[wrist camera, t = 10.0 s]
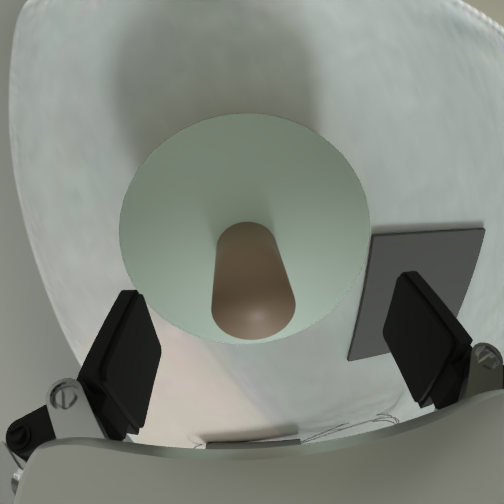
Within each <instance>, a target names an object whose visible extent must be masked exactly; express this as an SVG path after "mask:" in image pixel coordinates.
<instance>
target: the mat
mask: <svg viewBox="0 0 504 504" xmlns="http://www.w3.org/2000/svg"><path fill="white" fill-rule="evenodd" d="M485 230H486V229H484V228H475V229H458V230H441V231H424V232H408V233H393V234H377V235H372V239H371V246H370V253H369V259H368V266H367V272H366V277H365V283H364V288H363V293H362V298H361V303H360V308H359V313H358V317H357V322H356V326H355V330H354V335H353V339H352V343H351V347H350V350H349V354H348V358H347V360H348V362H349V361H354V360H359V359H364V358H368V357H373V356H377V355H381V354H386V353H390V352H391V351H390V349H389V347H388V345H387V343H386V341H385V339H384V337H383V327H384V324H385V320H386V317H387V314H388V310H389V307H390V303H391V299H392V296H393V292H394V288H395V284H396V280H397V278H398V277H399V276H400V275H401V273H402V272H407V271H417V272H418V273H419V274H420V275H421V276H422V278H423V279H424V280H425V281H426V282H427V283H428V284H429V286H430V287H431V288H432V289H433V290H434V291H435V293H436V294H437V295H438V296H439V297H440V299H441V300H442V301H443V302H444V303H445V305H446V306H447V307H448V308H449V310H450V311H451V312H452V313H453V315H454V316H455V317H457V315H458V312H459V310H460V308H461V305H462V303H463V300H464V298H465V295H466V292H467V290H468V287H469V284H470V281H471V278H472V275H473V272H474V269H475V266H476V263H477V260H478V256H479V253H480V249H481V246H482V242H483V238H484V234H485Z"/></svg>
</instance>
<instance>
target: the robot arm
mask: <svg viewBox="0 0 504 504" xmlns="http://www.w3.org/2000/svg"><path fill="white" fill-rule="evenodd" d="M383 337H384V339H385V341H386V343H387V345H388V347H389V349H390V351H391V353H392V355H393V357H394V359H395V361H396V363H397V365H398V367H399V370H400V372H401V374H402V376H403V378H404V380H405V382H406V384H407V386H408V389H409V391H410V393H411V395H412V397H413V399H414V401H415V402H418V404H419V406H420V408H424V407H426V406H429V405H432V404H434V406H435V410H434V412H431V413H429V414H426V415H423V416H420V417H417V418H414V419H412V420H408V421H405V422H402V423H399V424H396V425H392V426H389V427H385V428H382V429H378V430H374V431H370V432H366V433H362V434H358V435H353V436H348V437H344V438H339V439H333V440H328V441H322V442H315V443H309V444H301V445H293V446H283V447H272V448H257V449H191V448H177V447H165V446H154V445H146V444H138V443H131V442H126V441H125V440H124V439H125V437H126V433H129V434H135V435H138V433H139V428H142V427H143V426H144V424H145V419H146V415H147V410H148V406H149V402H150V397H151V393H152V389H153V385H154V381H155V377H156V373H157V369H158V365H159V361H160V357H161V345H160V342H159V340H158V337H157V334H156V331H155V329H154V326H153V323H152V320H151V317H150V314H149V311H148V308H147V305H146V302H145V299H144V296H143V294H139V292H138V291H137V290H122V291H121V292H120V294H119V296H118V297H117V299H116V301H115V303H114V305H113V306H112V308H111V310H110V312H109V314H108V316H107V317H106V319H105V321H104V323H103V325H102V327H101V329H100V331H99V333H98V335H97V337H96V339H95V341H94V343H93V345H92V347H91V349H90V351H89V353H88V355H87V357H86V359H85V361H84V363H83V366H82V368H81V370H80V372H79V375H78V377H77V380H75V379H72V378H64V379H61V380H58V381H57V382H55V383H54V384H53V385H52V386H51V387H50V388H49V390H48V392H47V395H46V405H44V406H42V407H41V408H39V409H37V410H35V411H33V412H31V413H29V414H27V415H25V416H24V417H22V418H20V419H18V420H16V421H14V422H13V423H12V424H11V425H10V426H9V428H8V430H7V433H6V443H4V442H3V441H2V442H1V443H0V504H504V365H503V359H502V356H501V353H500V352H499V351H498V349H497V348H495V347H494V346H493V345H491V344H488V343H484V342H483V343H478V344H476V345H475V346H474V347H473V348H472V347H471V345H470V344H471V343H472V341H473V340H472V338H471V337H470V336H469V334H468V333H467V332H466V330H465V329H464V328H463V326H462V325H461V324H460V322H459V321H458V320H457V318H456V317H455V316H454V315H453V313H452V312H451V311H450V310H449V308H448V307H447V306H446V305H445V303H444V302H443V301H442V300H441V299H440V297H439V296H438V295H437V294H436V293H435V291H434V290H433V289H432V288H431V287H430V286H429V284H428V283H427V282H426V281H425V280H424V279H423V278H422V276H421V275H420V274H419V273H418V272H417V271H407V272H402V273H401V275H400V276H399V277H398V278H397V280H396V284H395V288H394V292H393V296H392V299H391V303H390V307H389V310H388V314H387V317H386V320H385V324H384V327H383Z"/></svg>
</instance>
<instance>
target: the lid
mask: <svg viewBox="0 0 504 504" xmlns="http://www.w3.org/2000/svg"><path fill="white" fill-rule="evenodd" d="M369 235H370V219H369V209H368V205H367V200H366V196H365V193H364V191H363V188H362V185H361V183H360V181H359V179H358V177H357V175H356V173H355V172H354V170H353V168H352V167H351V165H350V164H349V163H348V161H347V160H346V159H345V158H344V156H343V155H342V154H341V153H340V152H339V151H338V150H337V149H336V148H335V147H334V146H333V145H332V144H331V143H330V142H329V141H327V140H326V139H324V138H323V137H322V136H320V135H319V134H317V133H316V132H314V131H313V130H311V129H309V128H307V127H305V126H302V125H300V124H298V123H296V122H293V121H290V120H287V119H284V118H281V117H277V116H271V115H265V114H257V113H237V114H229V115H222V116H217V117H213V118H210V119H206V120H203V121H200V122H197V123H195V124H193V125H191V126H189V127H187V128H184V129H182V130H180V131H179V132H177V133H176V134H174V135H173V136H171V137H170V138H168V139H167V140H165V141H164V142H163V143H162V144H161V145H160V146H158V147H157V148H156V149H155V150H154V151H153V152H152V153H151V154H150V155H149V156H148V158H147V159H146V160H145V161H144V162H143V164H142V165H141V166H140V167H139V169H138V171H137V172H136V174H135V176H134V177H133V179H132V181H131V183H130V185H129V187H128V190H127V192H126V195H125V197H124V201H123V205H122V209H121V213H120V224H119V239H120V248H121V253H122V258H123V262H124V264H125V267H126V270H127V273H128V275H129V277H130V279H131V281H132V283H133V285H134V287H135V288H136V289H137V291H138V292H139V294H143V296H144V299H145V301H146V303H147V304H148V305H149V306H150V307H151V308H152V309H153V310H154V311H155V312H156V313H158V314H159V315H160V316H161V317H162V318H163V319H165V320H166V321H168V322H169V323H171V324H172V325H174V326H175V327H177V328H179V329H181V330H183V331H185V332H187V333H189V334H192V335H194V336H197V337H200V338H203V339H207V340H210V341H215V342H221V343H228V344H255V343H263V342H269V341H273V340H277V339H281V338H284V337H287V336H290V335H293V334H295V333H297V332H299V331H301V330H303V329H306V328H307V327H309V326H311V325H312V324H314V323H316V322H317V321H319V320H320V319H321V318H323V317H324V316H325V315H327V314H328V313H329V312H330V311H331V310H332V309H333V308H334V307H335V306H337V305H338V304H339V302H340V301H341V300H342V299H343V298H344V297H345V295H346V294H347V293H348V291H349V290H350V288H351V287H352V285H353V284H354V282H355V281H356V279H357V277H358V275H359V273H360V271H361V269H362V266H363V263H364V260H365V257H366V254H367V249H368V244H369Z"/></svg>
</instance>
